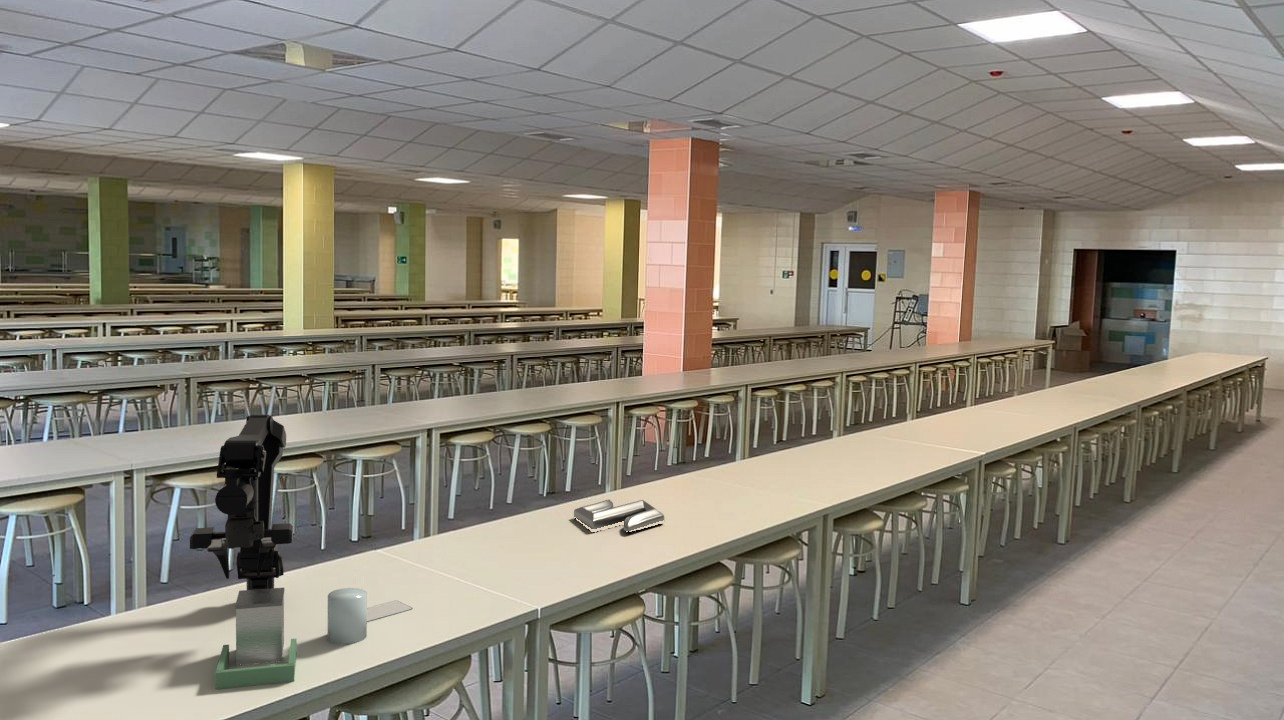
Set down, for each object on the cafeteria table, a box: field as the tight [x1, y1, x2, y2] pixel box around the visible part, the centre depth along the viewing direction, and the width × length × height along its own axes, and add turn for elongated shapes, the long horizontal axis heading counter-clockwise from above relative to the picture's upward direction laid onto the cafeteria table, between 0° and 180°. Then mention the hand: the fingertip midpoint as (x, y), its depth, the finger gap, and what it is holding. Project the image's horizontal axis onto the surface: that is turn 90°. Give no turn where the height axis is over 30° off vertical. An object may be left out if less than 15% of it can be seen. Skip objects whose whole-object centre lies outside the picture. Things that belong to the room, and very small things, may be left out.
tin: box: [234, 587, 285, 666], centre depth 177 cm, size 8×8×12 cm
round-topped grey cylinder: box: [327, 587, 368, 645], centre depth 186 cm, size 8×8×9 cm
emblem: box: [573, 499, 665, 532], centre depth 279 cm, size 28×5×28 cm
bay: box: [214, 638, 297, 690], centre depth 170 cm, size 12×13×3 cm
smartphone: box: [367, 600, 413, 623], centre depth 200 cm, size 7×1×15 cm
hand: (243, 577), depth 185 cm, fingers open, 5 cm apart
